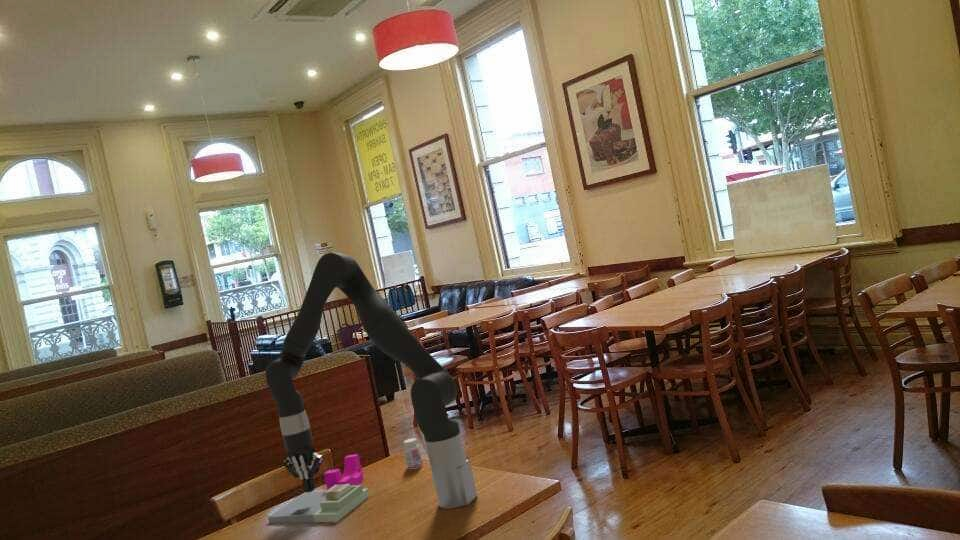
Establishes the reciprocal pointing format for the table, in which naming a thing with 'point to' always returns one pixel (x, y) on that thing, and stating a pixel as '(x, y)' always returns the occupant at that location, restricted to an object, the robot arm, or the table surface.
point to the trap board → (319, 507)
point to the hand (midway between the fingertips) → (310, 491)
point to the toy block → (345, 473)
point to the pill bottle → (412, 454)
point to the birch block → (337, 492)
